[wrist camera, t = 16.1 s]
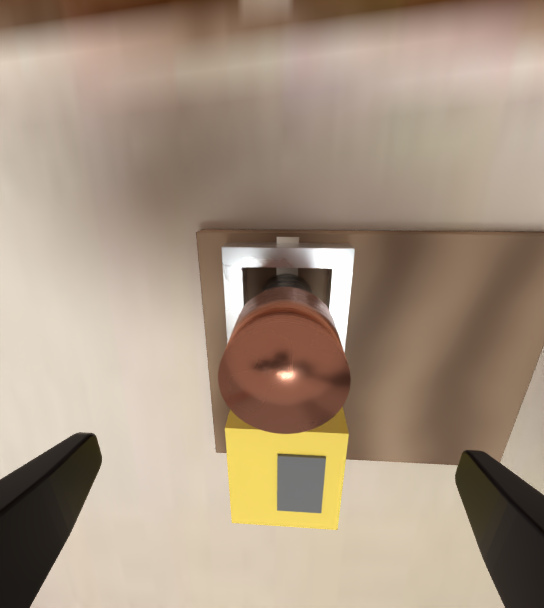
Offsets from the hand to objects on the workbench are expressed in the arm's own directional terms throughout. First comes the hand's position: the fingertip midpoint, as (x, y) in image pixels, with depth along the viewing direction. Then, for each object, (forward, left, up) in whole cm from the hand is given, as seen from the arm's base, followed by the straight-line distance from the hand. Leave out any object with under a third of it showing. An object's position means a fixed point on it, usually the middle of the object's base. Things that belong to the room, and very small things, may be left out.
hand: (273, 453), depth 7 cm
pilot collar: (0, 0, -11) cm, 11 cm away
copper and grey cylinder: (0, 0, -11) cm, 11 cm away
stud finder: (0, +8, -11) cm, 14 cm away
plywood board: (-5, +4, -12) cm, 14 cm away
